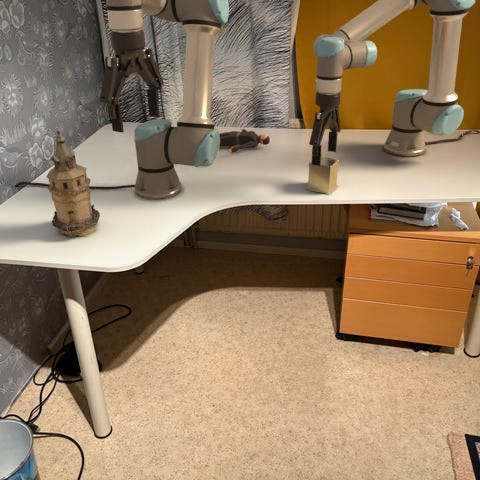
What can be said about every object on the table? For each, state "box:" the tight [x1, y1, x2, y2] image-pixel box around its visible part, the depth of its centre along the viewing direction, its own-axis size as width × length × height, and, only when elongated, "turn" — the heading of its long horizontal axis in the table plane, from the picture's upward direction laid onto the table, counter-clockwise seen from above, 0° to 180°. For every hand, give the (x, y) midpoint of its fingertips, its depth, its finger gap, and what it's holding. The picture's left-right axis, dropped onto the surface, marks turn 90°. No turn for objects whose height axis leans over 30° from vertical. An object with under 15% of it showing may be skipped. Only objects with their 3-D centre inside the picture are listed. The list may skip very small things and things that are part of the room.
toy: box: [219, 128, 271, 155], centre depth 214 cm, size 26×6×30 cm
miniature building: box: [46, 129, 101, 237], centre depth 148 cm, size 13×14×30 cm
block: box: [307, 156, 340, 195], centre depth 176 cm, size 7×7×10 cm
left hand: (137, 123), depth 129 cm, fingers open, 13 cm apart
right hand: (324, 157), depth 173 cm, fingers open, 13 cm apart
